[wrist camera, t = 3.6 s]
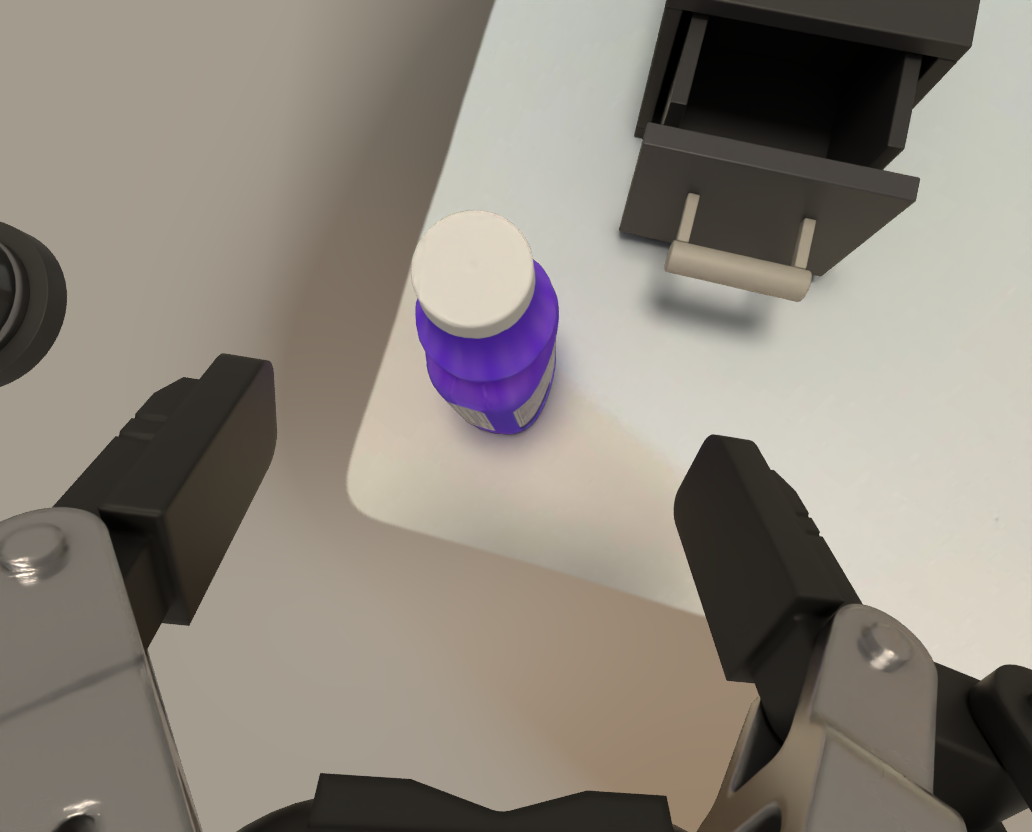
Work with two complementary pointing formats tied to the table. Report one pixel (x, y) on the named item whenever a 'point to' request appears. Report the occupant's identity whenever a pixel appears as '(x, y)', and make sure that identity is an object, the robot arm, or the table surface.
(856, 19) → the cabinet
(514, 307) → the bottle
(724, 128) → the drawer
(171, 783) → the robot arm
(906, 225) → the table surface
